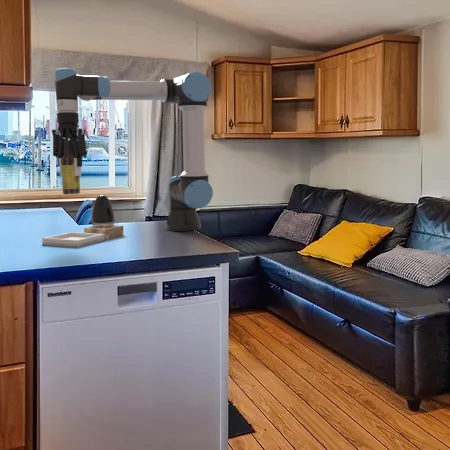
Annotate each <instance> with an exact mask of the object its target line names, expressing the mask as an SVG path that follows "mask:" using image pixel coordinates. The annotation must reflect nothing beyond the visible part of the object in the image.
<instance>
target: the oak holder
mask: <svg viewBox="0 0 450 450" xmlns="http://www.w3.org/2000/svg"><path fill="white" fill-rule="evenodd" d="M83 233H96V234H104V240H111V239H114V238H118V237H122V236H124V235H125V232H124V225H118V224H114V225H103V224H101V225H96V226H93V225H92V226H86V227H84V228H83Z"/></svg>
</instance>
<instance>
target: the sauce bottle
mask: <svg viewBox="0 0 450 450" xmlns="http://www.w3.org/2000/svg"><path fill="white" fill-rule="evenodd" d="M75 156H76V155H75V152H74V149H73V146H72V142H71V140H70V139H68V140H64V155H63V157H62V176H61V179H62V180H61V182H62V184H61V185H62V194H63V195H78V194H80V193H81V183H80V181H81V180H80V177H81V176H75V166H74V158H75Z"/></svg>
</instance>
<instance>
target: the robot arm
mask: <svg viewBox="0 0 450 450" xmlns="http://www.w3.org/2000/svg"><path fill="white" fill-rule="evenodd" d="M54 72H55V73H54V78H55V79H54V85H55V87H54V88H55V99H56V101H55V102H56V111H57V113H56V120H57V121H56V122H57V124H58V127H57V128H53V129H52V130H51V134H52V155H53V157H55V158H57V165H58V166H57V167H59V176H60V177H62V157H63V155H64V140H71V142H72V146H73V149H74V152H75V155H76V156H75V158H74V166H75V176H79V177H81V176H82V168H83V157H87V154H88V153H87V144H86V135H85V134H86V128H80V127H79V119H80V118H79V113H78V111H79V103H78V101H79V99H80V100H82V101H89V102H90V101H94V100H95V101H96V100H97V101H106V100H107V101H160V102H161V103H163V104H164V103H165V104H177V105H178V109H179V110H180V111H181V112H182V114H181V115H182V117H181V118H182V150H183V153H182V154H183V155H182V158H183V159H182V160H183V172H181V174H180V175H175V176H171V177H170V178H169V179H168V192H169V193H168V195H169V197H168V199H169V200H168V201H169V213H168V217H167V220H166V223H165V229H166V230H167V231H172V232H189V231H190V232H191V231H197V230H198V231H199V230H200V229H201V227H202V224H201V221H200V217H199V215H198V213H197V209H201V208H202V209H203V208H204V207H207V205H209V204H210V203H211V201H212V198H213V195H214V194H213V193H214V192H213V191H214V190H213V187H212V185H211V184H210V182H209V174H208V173H207V171H206V170H205V167H206V166H205V125H204V123H205V122H204V120H205V118H204V117H205V116H204V111H205V110H206V109H207V108H208V98H209V97H210V95H211V93H212V85H211V81H210V79H209V78H208V77H207V76H206V74H204V73H202V72H200V71H190V72H187V73H185V74H181V75H180V76H176V77H174V78H162V79H161V80H160V81H156V80H155V81H151V80H150V81H149V80H144V81H143V80H110V79H109V77H107V76H101V75H80V74H78V73H77V70H76V69H75V68H71V67H69V68H68V67H60V68H57V69H56V70H55V71H54ZM78 98H79V99H78Z"/></svg>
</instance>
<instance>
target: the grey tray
mask: <svg viewBox="0 0 450 450" xmlns="http://www.w3.org/2000/svg"><path fill="white" fill-rule="evenodd" d="M41 239H42V246H43V245H44V246H55V247H56V246H57V247H66V248H67V247H68V248H69V247H70V248H80V247H84V246H88V245H93V244H96V243H100V242H103V241H105V239H104V234H96V233H84V232H80V231H79V232H76V231H69V232H66V233H65V232H64V233H60V234H55V235H51V236H46V237H45V236H44V237H42V238H41Z"/></svg>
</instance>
